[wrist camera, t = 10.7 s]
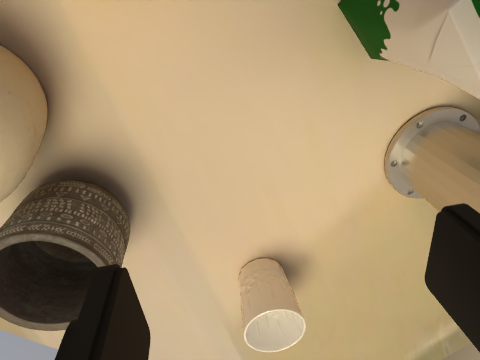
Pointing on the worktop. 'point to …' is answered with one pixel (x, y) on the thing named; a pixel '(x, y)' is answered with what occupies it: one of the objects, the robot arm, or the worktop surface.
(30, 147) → the jug
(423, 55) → the milk carton
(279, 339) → the white cup
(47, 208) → the planter
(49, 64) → the worktop surface
